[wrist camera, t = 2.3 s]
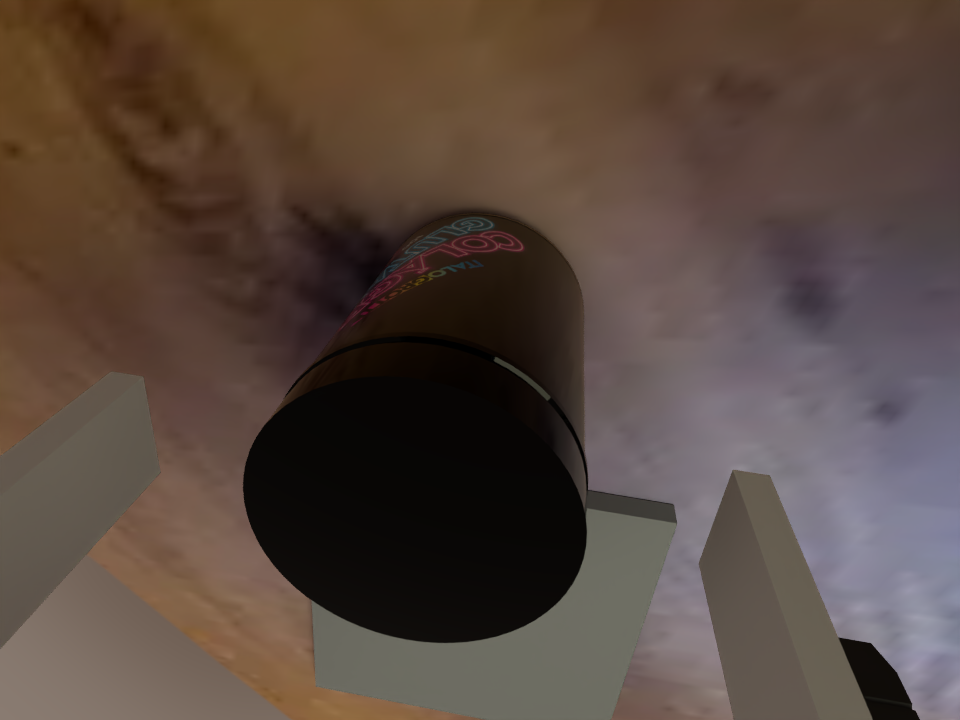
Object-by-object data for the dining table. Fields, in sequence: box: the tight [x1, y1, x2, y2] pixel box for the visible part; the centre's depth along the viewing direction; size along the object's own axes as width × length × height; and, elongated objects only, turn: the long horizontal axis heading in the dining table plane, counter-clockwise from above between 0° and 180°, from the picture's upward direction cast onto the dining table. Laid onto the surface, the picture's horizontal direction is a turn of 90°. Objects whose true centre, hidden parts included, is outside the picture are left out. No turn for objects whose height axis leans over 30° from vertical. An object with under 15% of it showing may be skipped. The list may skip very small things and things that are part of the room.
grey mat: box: [312, 491, 677, 720], centre depth 28 cm, size 14×14×1 cm
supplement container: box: [243, 213, 588, 643], centre depth 17 cm, size 7×7×10 cm
